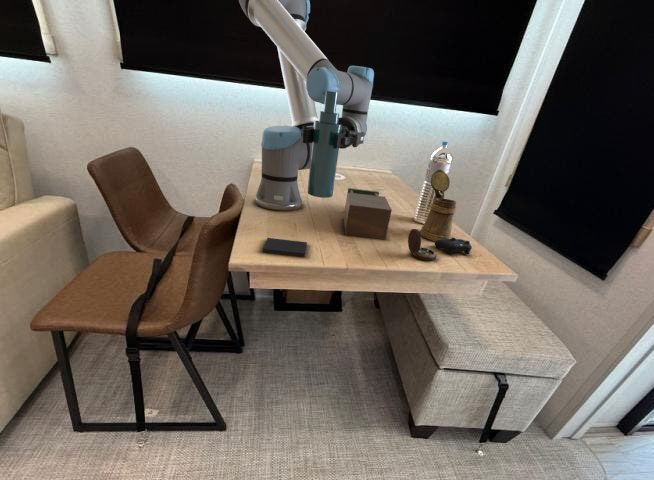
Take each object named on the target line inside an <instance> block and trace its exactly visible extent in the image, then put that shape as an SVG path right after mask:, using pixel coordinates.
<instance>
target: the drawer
mask: <svg viewBox="0 0 654 480" xmlns="http://www.w3.org/2000/svg"><path fill="white" fill-rule="evenodd" d="M348 192H349V193H357V194H365V195H373V196H380V191H379V190H378V191H377V190H370V189H362V188H354V187H348V188H347V192H346V196H347V195H348ZM346 202H347V198H346V200H345V203H346ZM345 208H346V204H345V207H344V209H345Z"/></svg>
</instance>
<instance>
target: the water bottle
mask: <svg viewBox="0 0 654 480" xmlns="http://www.w3.org/2000/svg"><path fill="white" fill-rule="evenodd" d="M449 143H450V142H449V141H445V140H444V141H443V140H442V142H441V146H440V147H438V148H436V149H435V150H434V151H432V152H431V154H430V155H429V161H428V164H427V167H426V171H425V175H424V179H423V181H422V185H421V189H420V193H419V197H418V201H417V203H416V208H415V211H414V215H413V220H414V221H415V222H416V223H418V224H422V225H424V224H425V221H426V219H427V217H428V214H429V212H430V209H431V208H430V206H431V205H432V203H433V199H434V196H435V191H434V189H433V188H432V185H431V178H432V175H433V174H434V173H435V172H436V171H438V170H440V169H441V170H442V171H444V172H445V173H446V174H447V175H448V176H449V171H450V168H451V166H452V165H451V164H453V163H452V162H453V155H452V152H451V150H450V149H449V148H448V146H449V145H450V144H449Z"/></svg>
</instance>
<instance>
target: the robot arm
mask: <svg viewBox="0 0 654 480" xmlns="http://www.w3.org/2000/svg"><path fill="white" fill-rule="evenodd" d="M310 2H311V1H310V0H238V3H239V5H240V7H241V9H242V11H243V13H244V14H245V16H246V17H247V19H249V21H250V22H251V23H252V24H253V25H254V26H256V27H260V28H261V29H262V30H263V31H264V33H265V34H266V35H267V36H268V37H269V39H270V40H271V41H272V43H274V45H275V46H276V48H277V52H278V59H279V63H280V68H281V73H282V78H283V79H282V80H283V84H284V89H285V92H286V99H287V103H288V109H289V115H290V119H291V124H290V125H272V126H267V127H266V128H265V129H263V132H262V137H261V142H260V143H261V145H260V146H261V179H260V183H259V185H258V188H257V191H256V194H255V204H256V205H257V206H258V207H261V208H263V209H266V210H271V211H281V212H282V211H284V212H285V211H287V212H289V211H294V210H298V209H300V208H301V206H302V197H301V193H300V190H299V184H298V174H299V171H304V170H305V171H306V170H310V161H311V150H312V140H313V130H314V121H319V117H318V113H317V109H316V108H317V107H316V103H319V104H321V105H325V96H326V91H331V92H338V96H337V104H336V106H337V105H338V106H342V110H341V111H342V112H341V117H340V116H339V120H338V123H339V124H342V131H341V133H339V134H336V135H335V139H334V146H333V148H334V149H337V148H339V150H341V149H347V148H349V147H353V148H357V147H359V145H363V144H364V141H365V138H366V135H367V132H368V125H367V121H368V113H369V109H370V103H371V99H372V98H371V97H372V91H373V88H374V78H375V72H374V69H373V68H371V67H366V66H359V65H350V66H349V67H348V68H347V72H346V71H342V70H338V69H337V68H336V67H335V66H334V65H333V64H332V63H331V61H330V60H329V59H328V57H326V55H325V54H324V53H323V51H321V49H320V48H319V47H318V46H317V44H316V43H315V42H314V41H313V40H312V38H310V36H309V35H308V34H307V33H306V32H305V31H306V30H307V24H308V21H309V18H310V17H309V14H311V3H310Z"/></svg>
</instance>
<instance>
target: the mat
mask: <svg viewBox="0 0 654 480" xmlns="http://www.w3.org/2000/svg"><path fill="white" fill-rule="evenodd" d="M307 247H308V242H306V241H299V240H290V239H282V238H274V237H267V239H266V240H265V242H264V245H263V247H262V253H265V254H274V255H283V256H289V257H290V256H292V257H298V258H305V257H306V251H307Z"/></svg>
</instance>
